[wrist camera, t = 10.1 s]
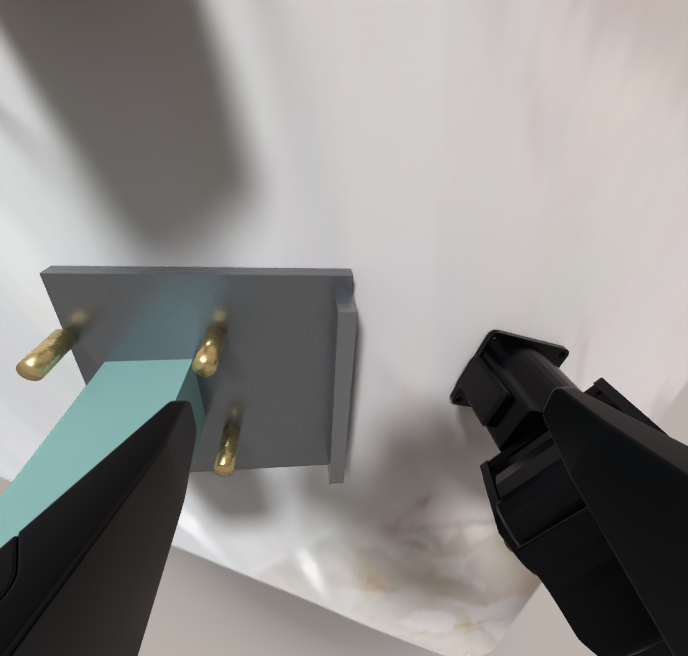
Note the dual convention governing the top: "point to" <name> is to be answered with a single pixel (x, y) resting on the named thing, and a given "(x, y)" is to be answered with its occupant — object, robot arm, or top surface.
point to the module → (97, 432)
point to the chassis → (223, 351)
